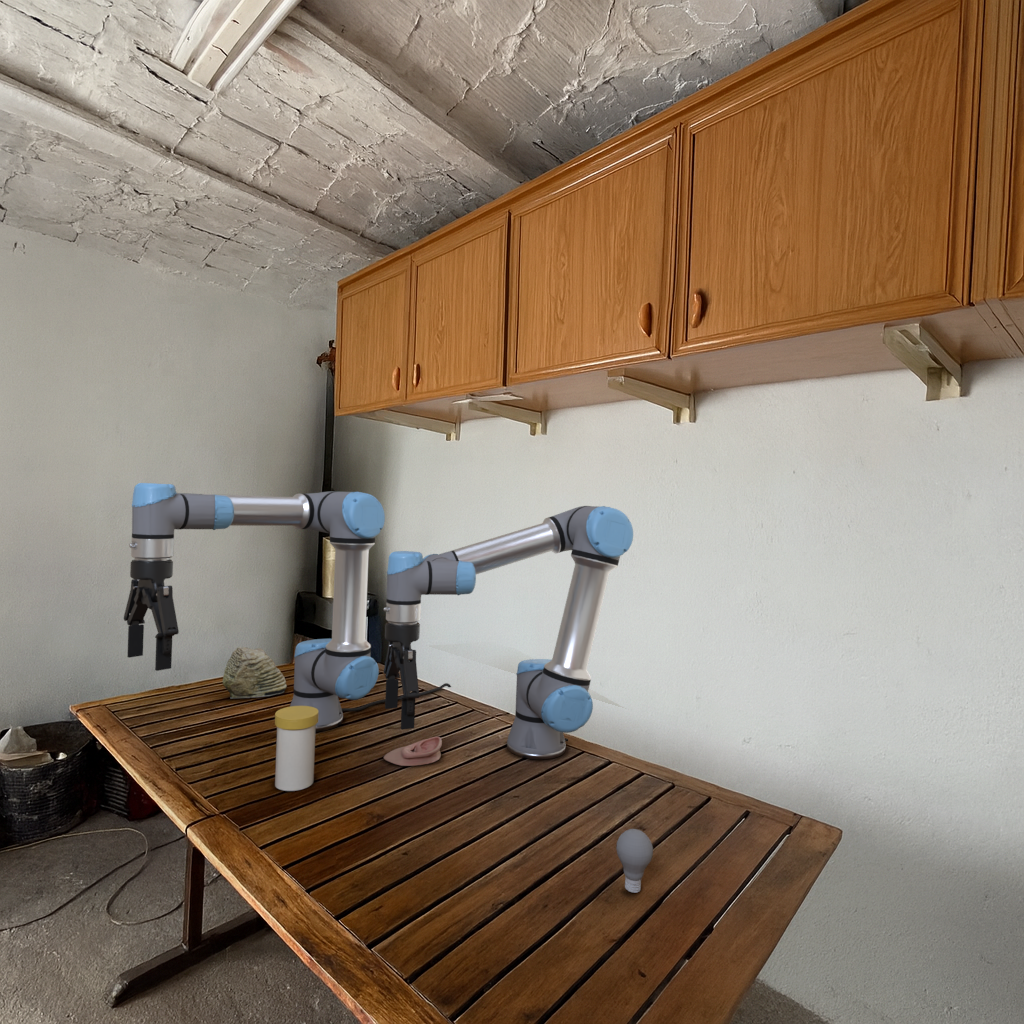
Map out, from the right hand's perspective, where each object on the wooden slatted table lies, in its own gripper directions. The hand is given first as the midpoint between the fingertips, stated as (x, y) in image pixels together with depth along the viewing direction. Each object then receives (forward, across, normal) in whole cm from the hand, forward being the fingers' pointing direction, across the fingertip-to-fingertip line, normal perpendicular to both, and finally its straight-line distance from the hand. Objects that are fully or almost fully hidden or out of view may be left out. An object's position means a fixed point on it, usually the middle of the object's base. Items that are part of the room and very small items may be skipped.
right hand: (398, 717), depth 140 cm
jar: (+15, -10, -20) cm, 27 cm away
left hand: (-13, -12, -49) cm, 52 cm away
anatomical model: (+15, -14, +8) cm, 22 cm away
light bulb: (+15, +50, +27) cm, 59 cm away
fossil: (+15, -76, -25) cm, 82 cm away
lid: (0, -10, -20) cm, 23 cm away
